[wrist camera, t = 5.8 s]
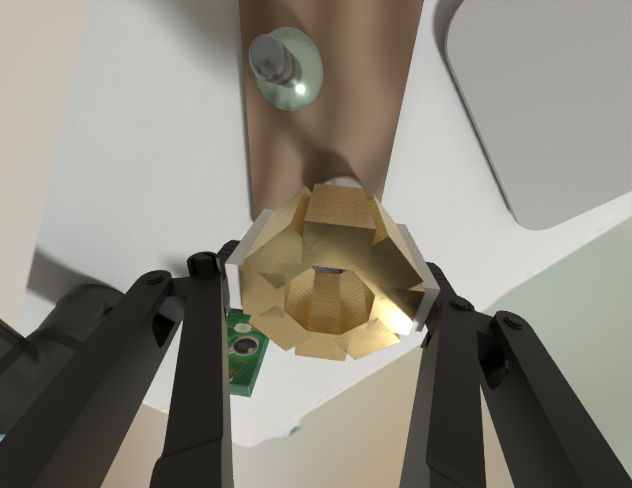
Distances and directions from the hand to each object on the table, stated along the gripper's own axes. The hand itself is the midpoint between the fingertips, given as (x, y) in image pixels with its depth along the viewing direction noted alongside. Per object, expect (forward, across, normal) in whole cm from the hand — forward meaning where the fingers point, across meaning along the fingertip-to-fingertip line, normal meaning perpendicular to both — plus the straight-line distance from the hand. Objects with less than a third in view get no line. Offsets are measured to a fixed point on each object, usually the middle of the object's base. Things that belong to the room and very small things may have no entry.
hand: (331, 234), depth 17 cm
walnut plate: (+15, -2, +4) cm, 16 cm away
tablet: (+16, +22, +10) cm, 29 cm away
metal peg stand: (+14, -5, +10) cm, 18 cm away
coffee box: (+16, -12, -26) cm, 33 cm away
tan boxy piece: (-2, 0, 0) cm, 2 cm away
